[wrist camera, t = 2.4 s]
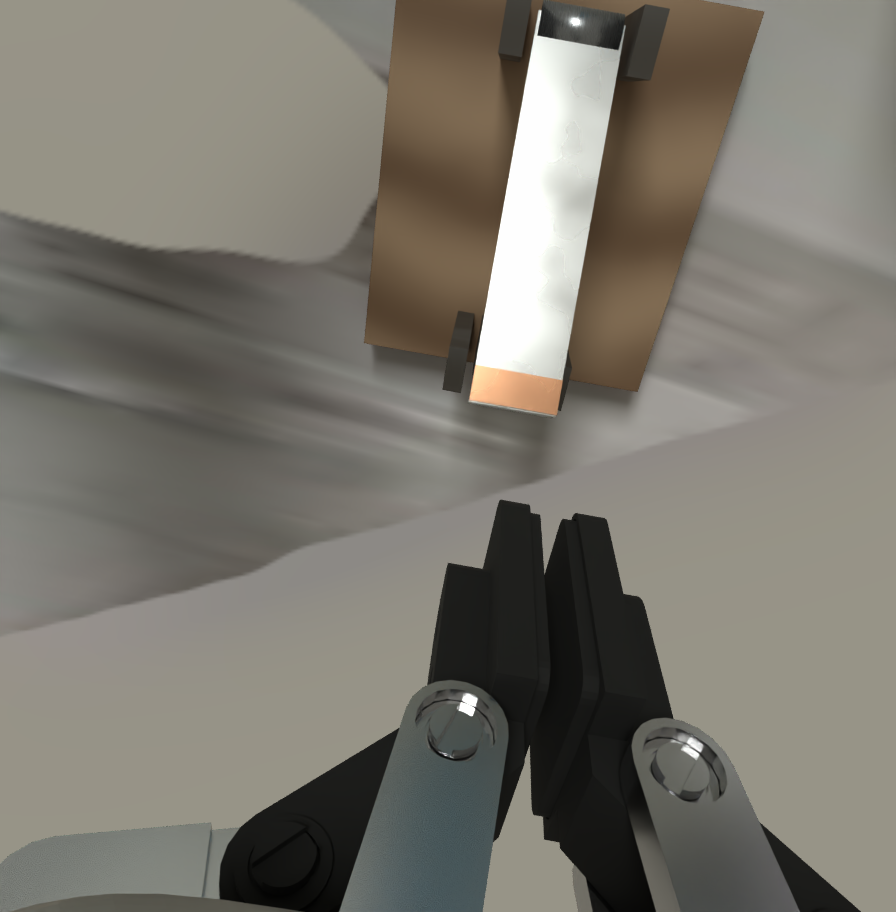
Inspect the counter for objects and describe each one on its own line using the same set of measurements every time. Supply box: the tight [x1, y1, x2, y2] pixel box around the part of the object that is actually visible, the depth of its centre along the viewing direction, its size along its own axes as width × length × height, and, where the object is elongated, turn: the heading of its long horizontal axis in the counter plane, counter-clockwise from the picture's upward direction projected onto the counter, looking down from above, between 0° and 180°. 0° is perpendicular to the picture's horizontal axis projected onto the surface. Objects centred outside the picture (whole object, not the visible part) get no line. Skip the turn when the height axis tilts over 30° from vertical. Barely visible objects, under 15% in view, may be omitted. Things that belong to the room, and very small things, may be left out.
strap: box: [468, 0, 626, 418], centre depth 22 cm, size 14×3×2 cm, turn 171°
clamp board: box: [364, 0, 764, 411], centre depth 27 cm, size 16×14×7 cm
